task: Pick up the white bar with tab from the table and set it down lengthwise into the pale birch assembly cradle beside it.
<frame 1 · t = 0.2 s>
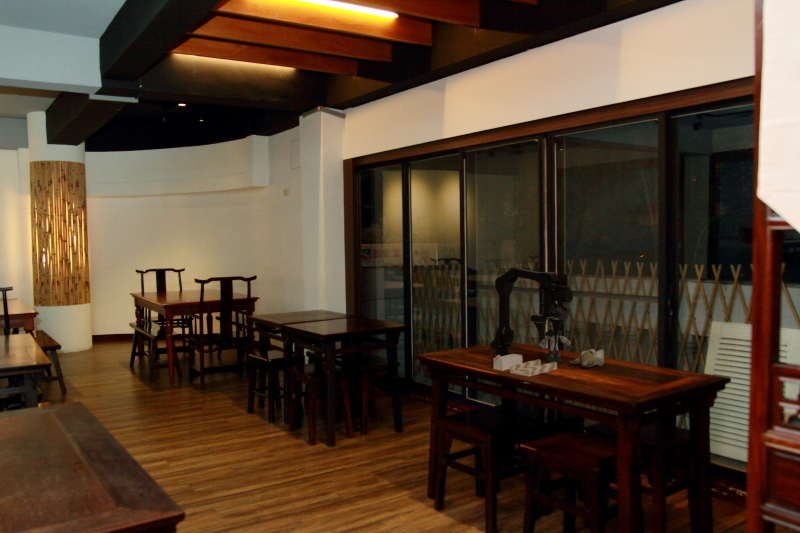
hand: (549, 336, 279), 14 cm above the table, fingers open, 9 cm apart
robot: (554, 362, 295), on the table
ceramic sculpture: (589, 367, 283), on the table
white bar with tab: (508, 367, 284), on the table
cradle: (533, 371, 275), on the table
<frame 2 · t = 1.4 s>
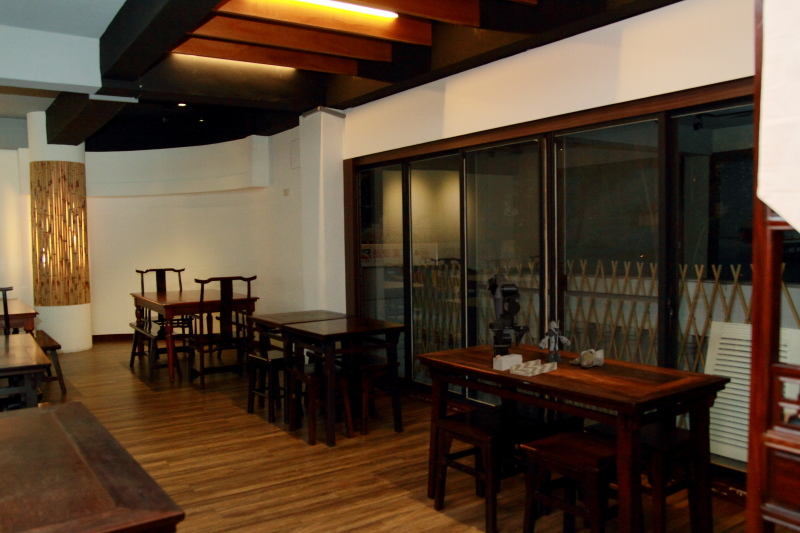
hand: (508, 346, 284), 9 cm above the table, fingers open, 9 cm apart
nothing on the table moved.
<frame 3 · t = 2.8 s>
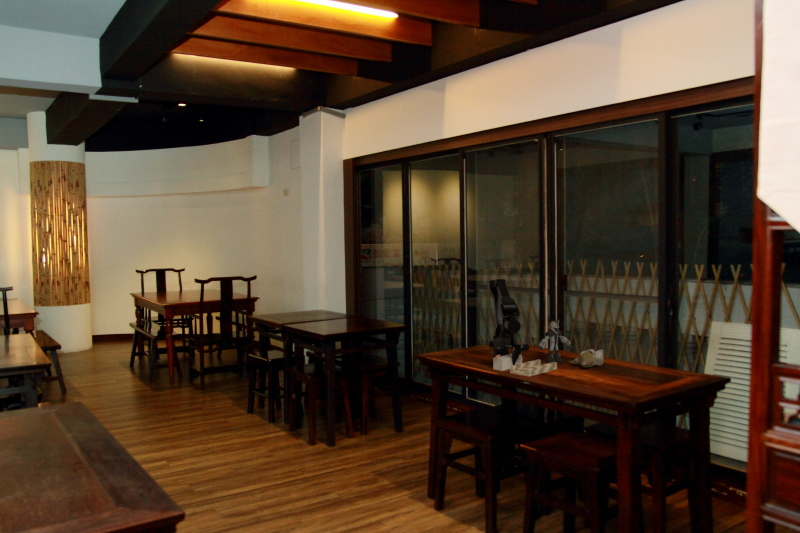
hand: (508, 364, 285), 1 cm above the table, fingers closed on white bar with tab, 5 cm apart
white bar with tab: (507, 367, 284), on the table, touching gripper
everything else where it was.
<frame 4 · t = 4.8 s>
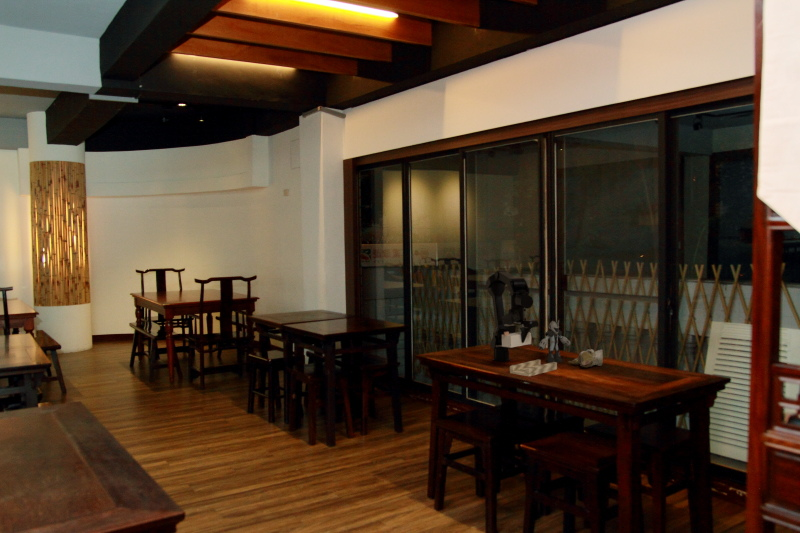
hand: (517, 342, 280), 12 cm above the table, fingers closed on white bar with tab, 5 cm apart
white bar with tab: (516, 345, 280), point 11 cm above the table, touching gripper
everything else where it was.
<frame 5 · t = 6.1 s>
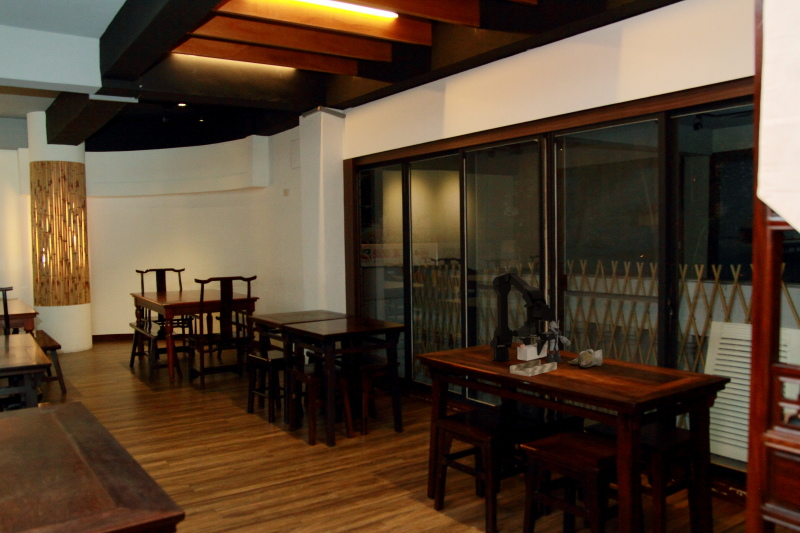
hand: (533, 354, 275), 7 cm above the table, fingers closed on white bar with tab, 5 cm apart
white bar with tab: (532, 357, 275), point 6 cm above the table, touching gripper
everything else where it was.
when the fingers open (4 cm above the table, at t = 7.1 s): white bar with tab drops 2 cm, resting on cradle.
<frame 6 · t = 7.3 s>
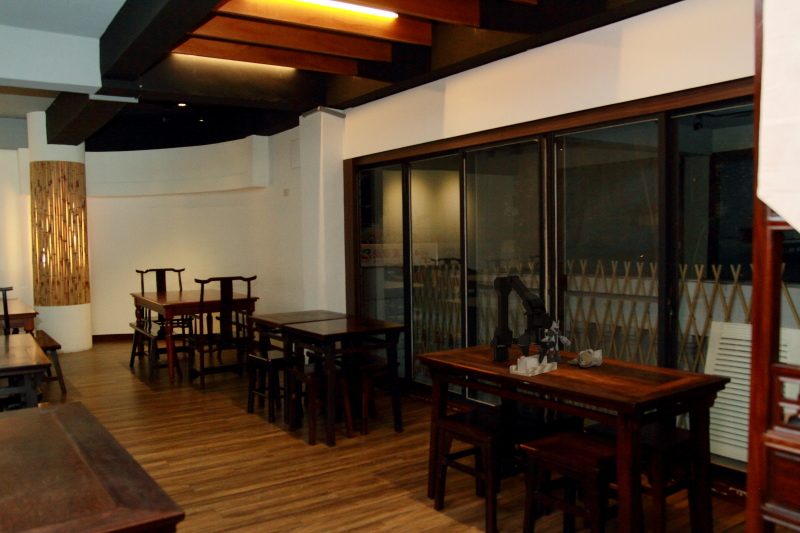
hand: (533, 362, 275), 4 cm above the table, fingers open, 7 cm apart
white bar with tab: (532, 369, 275), point 1 cm above the table, touching cradle
everything else where it was.
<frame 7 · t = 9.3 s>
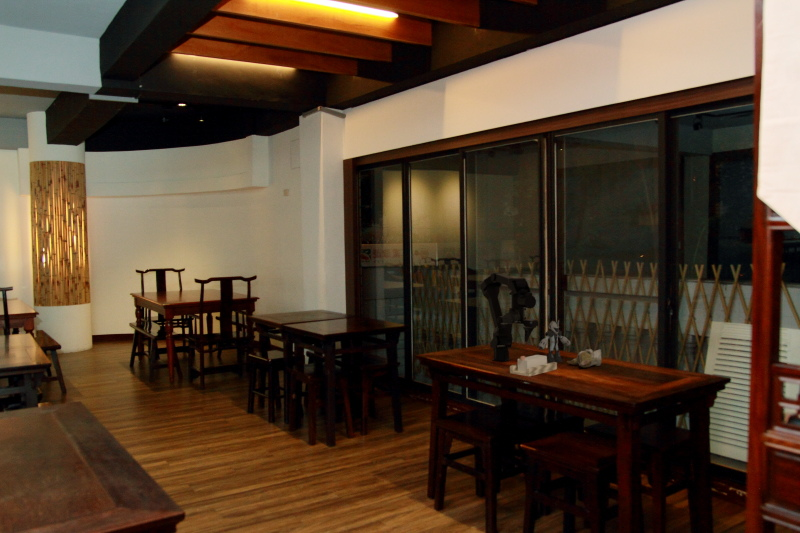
hand: (517, 340, 286), 12 cm above the table, fingers open, 9 cm apart
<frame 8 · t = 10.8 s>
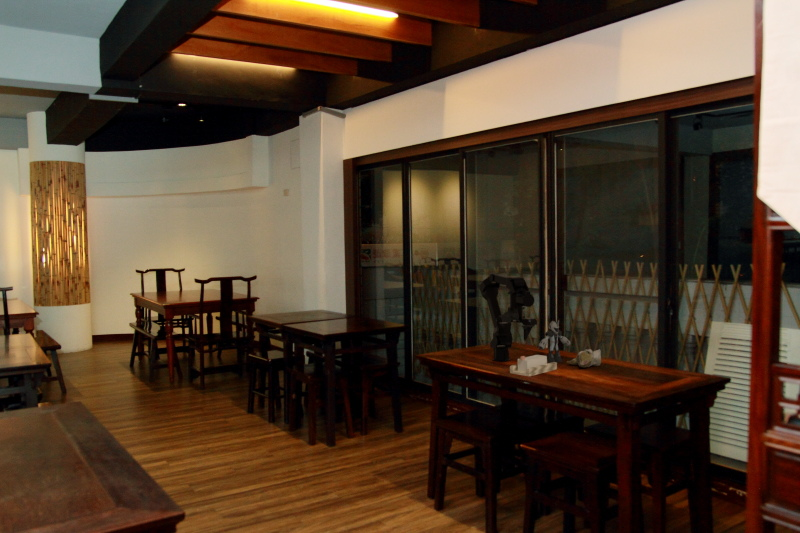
hand: (516, 339, 286), 12 cm above the table, fingers open, 9 cm apart
at the end: white bar with tab 0.3 cm off-centre on the cradle, point 1.0 cm above the cradle's base; white bar with tab tilted 0°; the gripper is holding nothing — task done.
